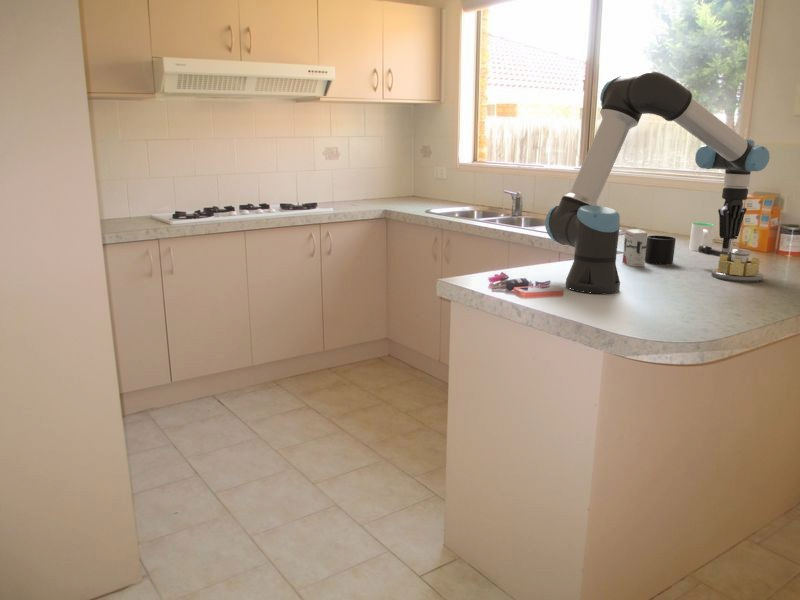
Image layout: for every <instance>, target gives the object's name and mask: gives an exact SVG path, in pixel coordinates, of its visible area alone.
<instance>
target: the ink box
mask: <svg viewBox="0 0 800 600" xmlns="http://www.w3.org/2000/svg"><path fill="white" fill-rule="evenodd" d="M647 237H648V232H647V231H645V230H642V229H639V228H638V229H636V228H635V229H625V230H624V241H623V242H624V243H623V252H622V253H623V254H622V263H624V264H626V265H627V266H629V267H645V265H646V262H645V254H646V244H647Z"/></svg>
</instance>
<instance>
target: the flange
mask: <svg viewBox="0 0 800 600" xmlns="http://www.w3.org/2000/svg"><path fill="white" fill-rule="evenodd" d="M750 251H751V250H749V249H745V248H732V251H731V253H732V255H731V262H735V258H736V257H737V258H742V262H741V263H748V260H750V255H751V252H750ZM711 277H712V278H715V279H717V280H723V281H727V282H734V283H744V284H745V283H746V284H747V283H748V284H752V283H755V284H756V283H762V282H764V280H765V275H764V274H763V273H761V272H758V275H756V276H744V275H743V276H739V275H730V274H725V273H722V272H718V268H714V269H711Z"/></svg>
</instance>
